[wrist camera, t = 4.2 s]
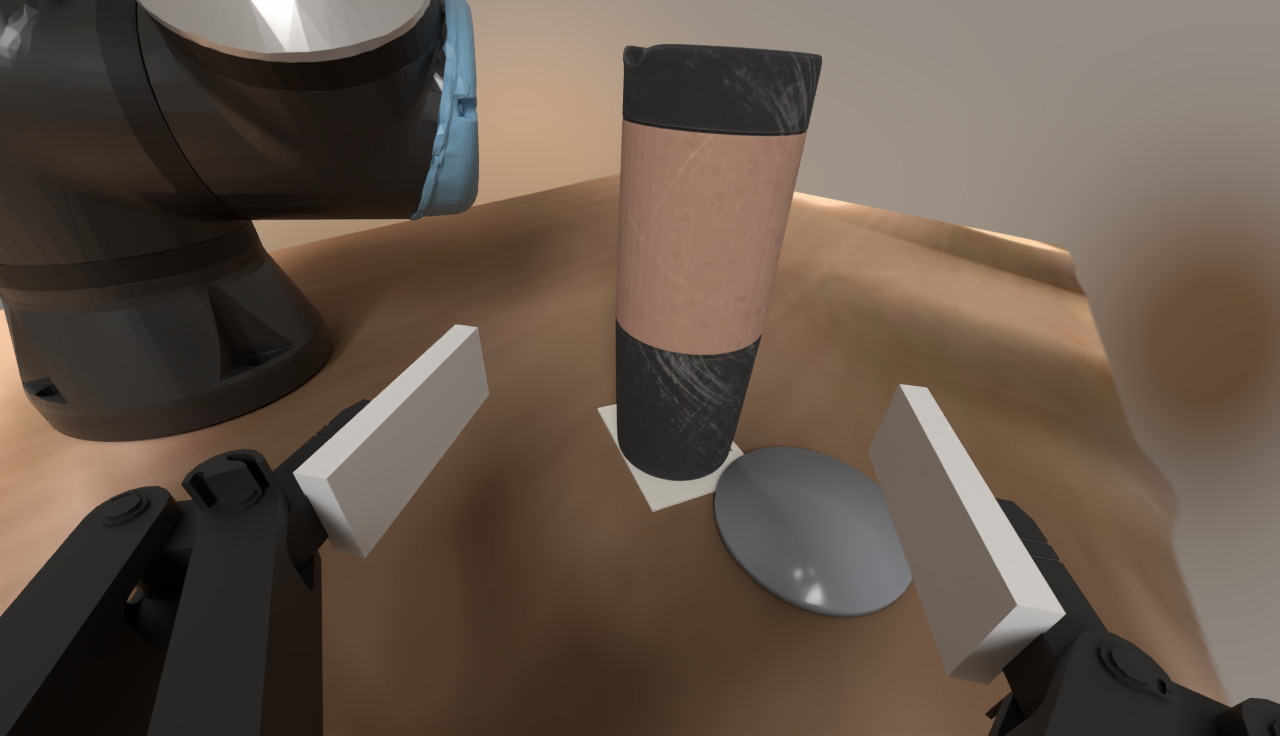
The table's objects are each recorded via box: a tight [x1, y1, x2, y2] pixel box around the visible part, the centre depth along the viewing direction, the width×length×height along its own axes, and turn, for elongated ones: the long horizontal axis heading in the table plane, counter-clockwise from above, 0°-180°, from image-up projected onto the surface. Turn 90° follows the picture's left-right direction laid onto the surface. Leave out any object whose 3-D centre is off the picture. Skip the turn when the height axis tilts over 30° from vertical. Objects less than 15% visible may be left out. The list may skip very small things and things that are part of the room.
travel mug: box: [616, 44, 822, 481], centre depth 23 cm, size 8×8×20 cm
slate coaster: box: [714, 447, 913, 617], centre depth 24 cm, size 10×10×1 cm
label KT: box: [597, 404, 744, 512], centre depth 28 cm, size 9×7×1 cm
